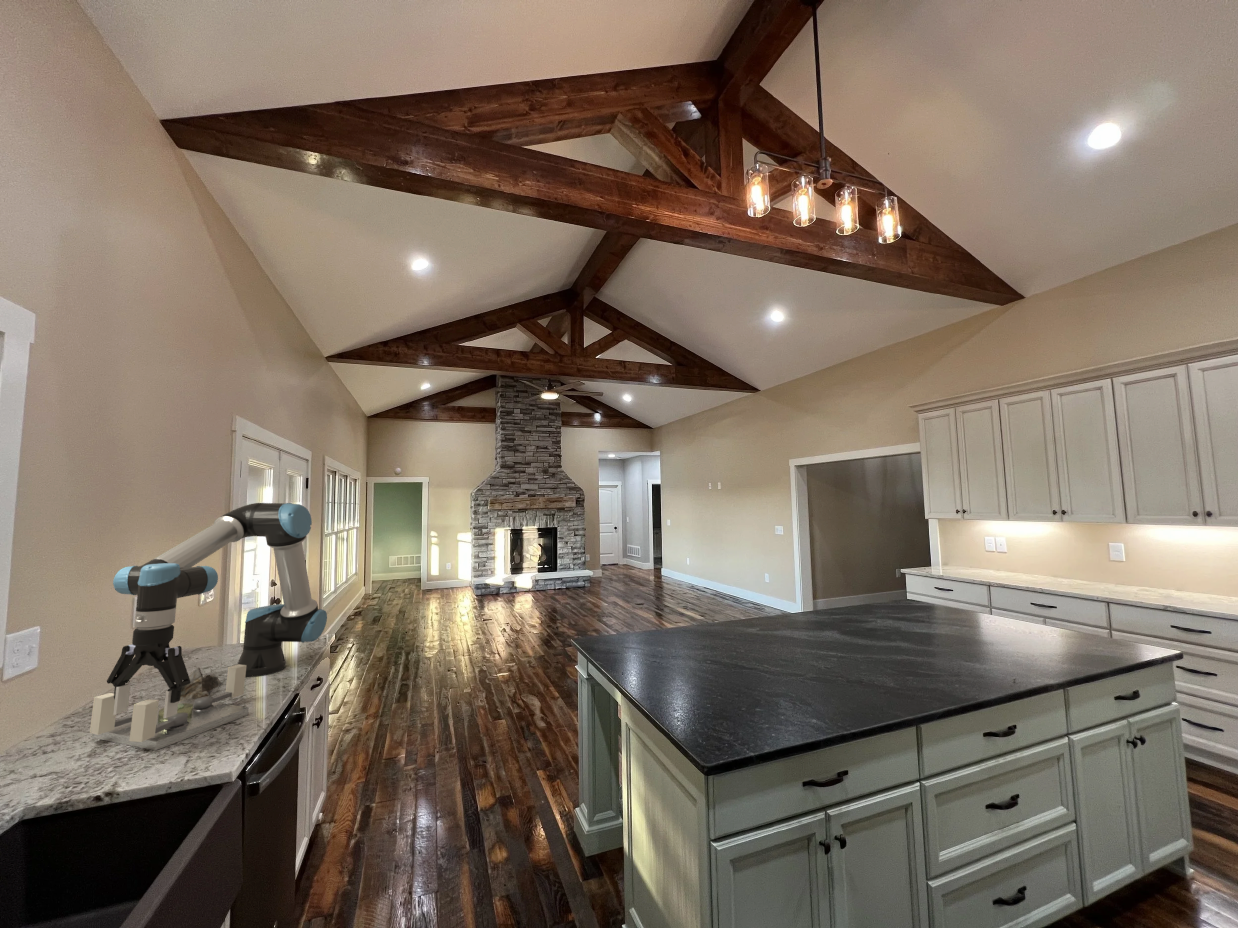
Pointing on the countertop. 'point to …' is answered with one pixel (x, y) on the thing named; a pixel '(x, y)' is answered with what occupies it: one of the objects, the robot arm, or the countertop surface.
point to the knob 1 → (105, 715)
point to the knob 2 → (151, 721)
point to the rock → (199, 685)
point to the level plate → (195, 725)
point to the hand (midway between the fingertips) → (145, 714)
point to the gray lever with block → (232, 687)
